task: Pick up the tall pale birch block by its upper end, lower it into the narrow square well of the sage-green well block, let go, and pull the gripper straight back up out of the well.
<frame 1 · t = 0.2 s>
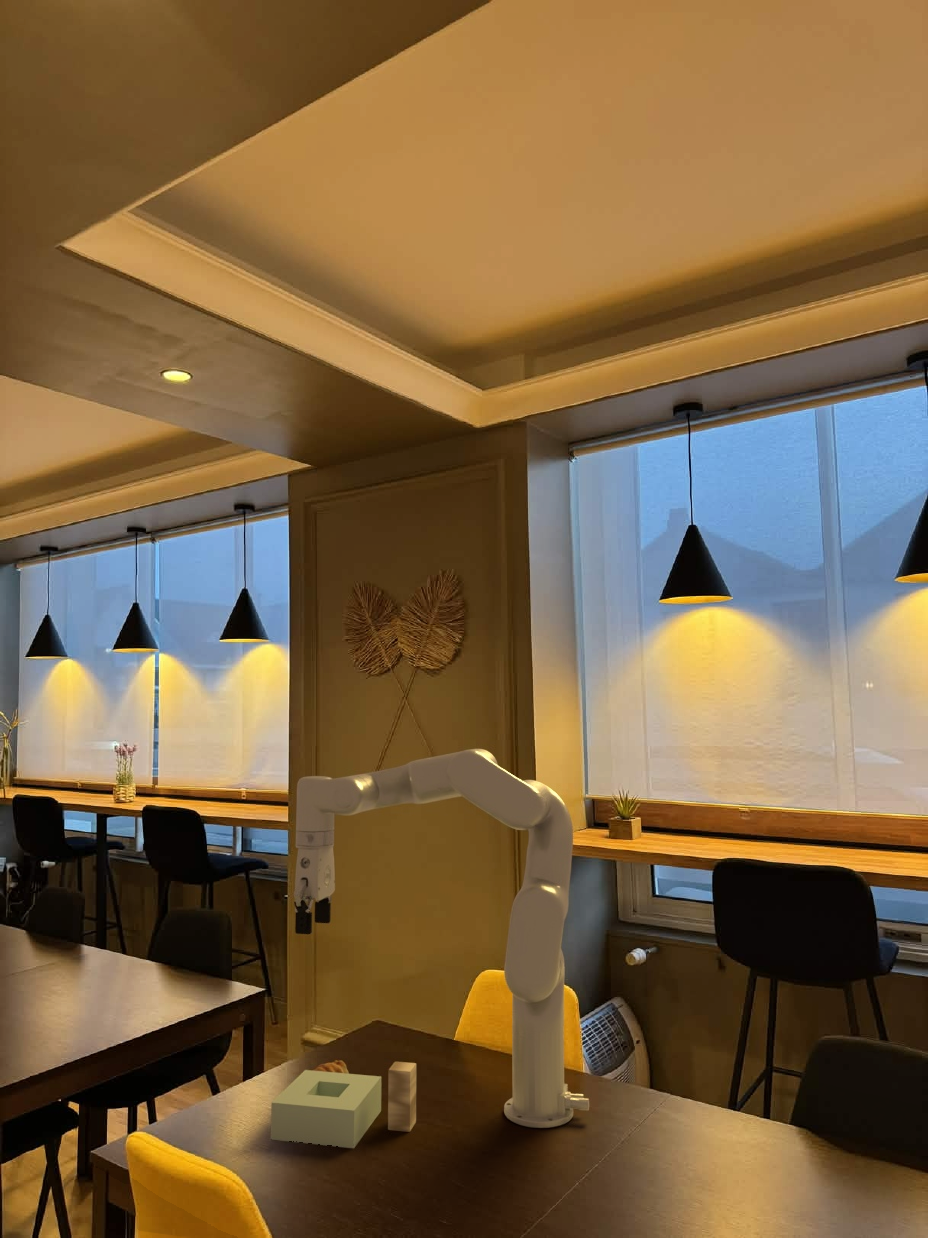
hand: (313, 928, 176), 31 cm above the table, tool pointing down, fingers open, 9 cm apart
well block: (327, 1125, 159), on the table
birch block: (402, 1126, 159), on the table
pastry: (326, 1086, 177), on the table
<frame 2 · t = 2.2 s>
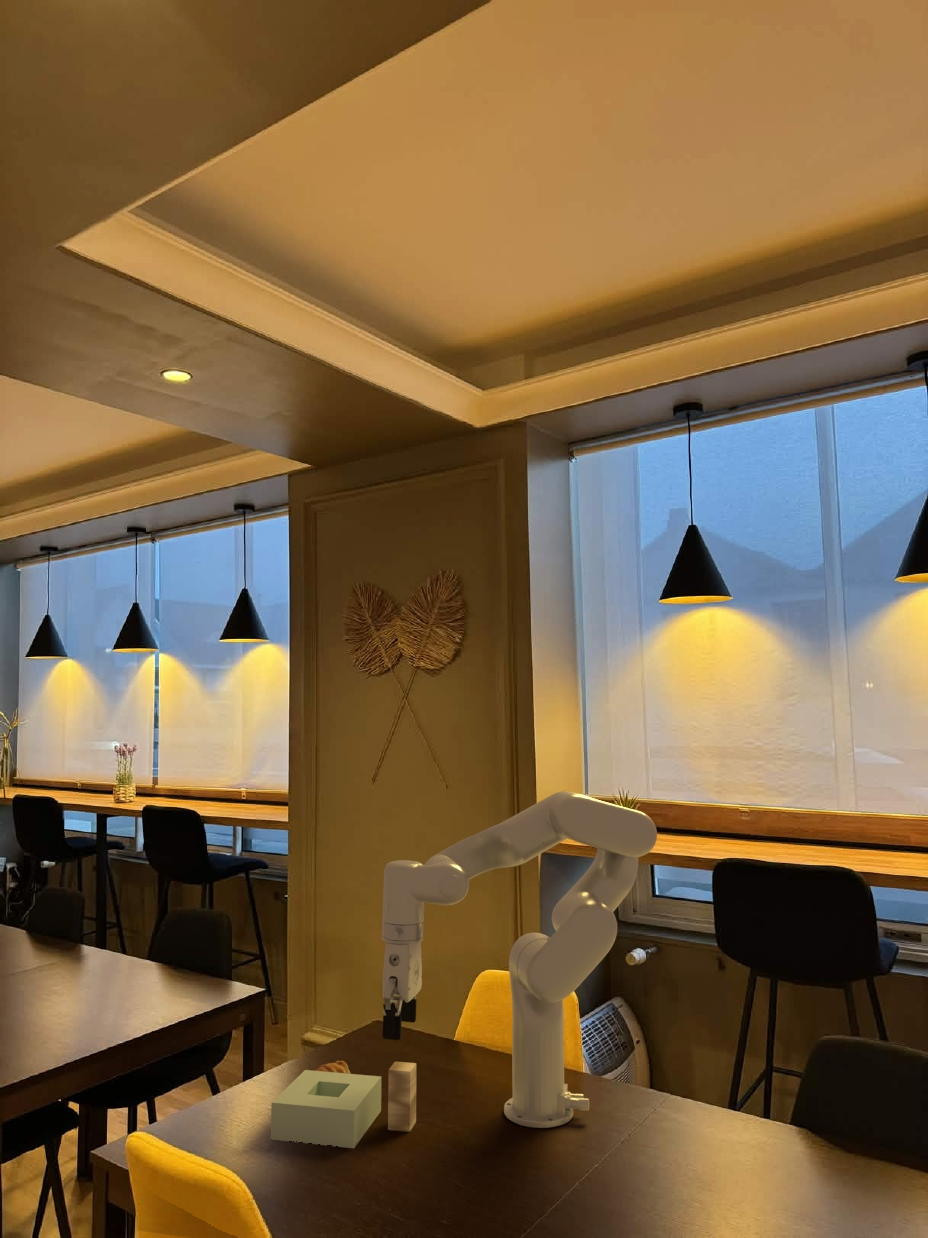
hand: (399, 1030, 160), 16 cm above the table, tool pointing down, fingers open, 9 cm apart
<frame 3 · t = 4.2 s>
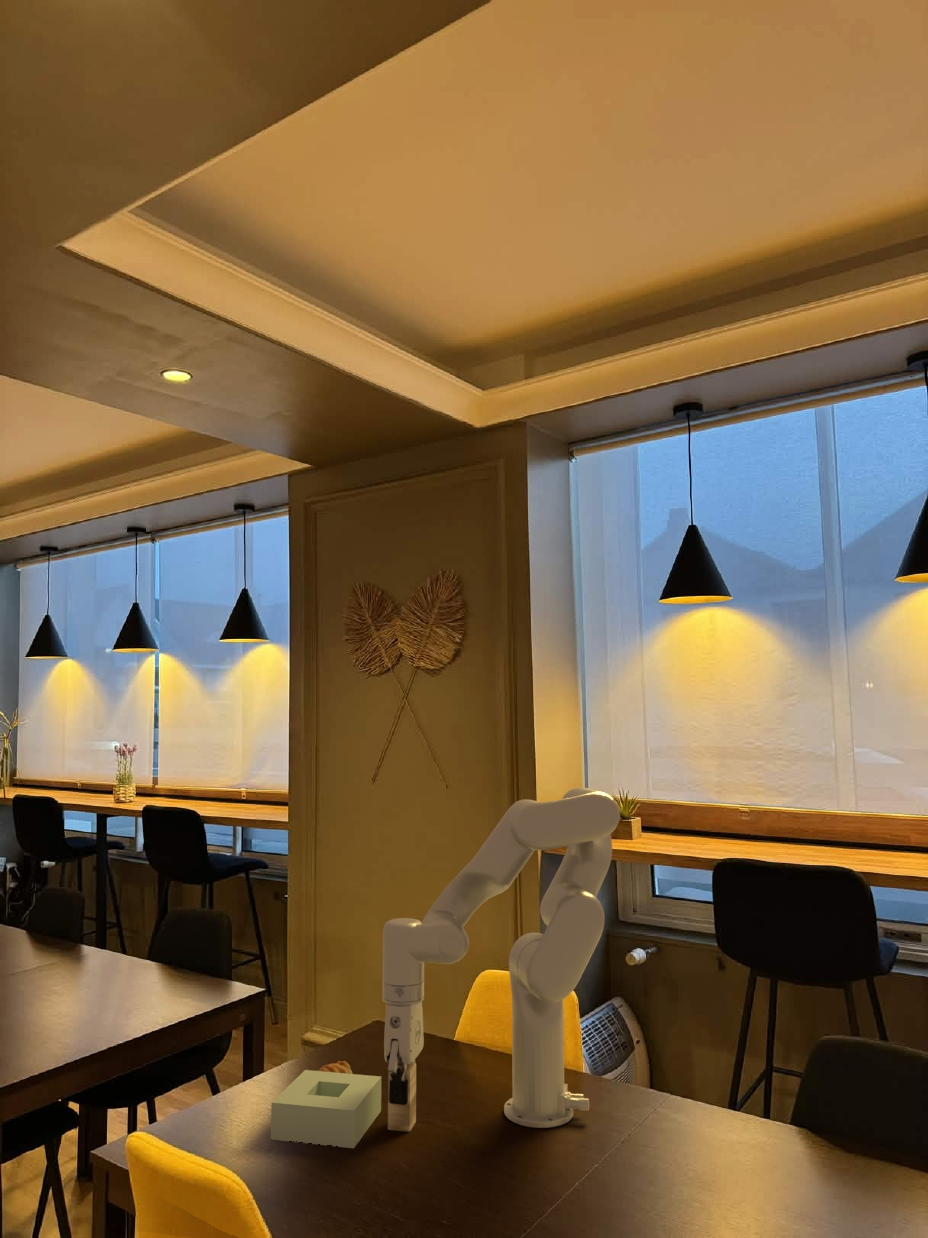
hand: (402, 1097, 159), 5 cm above the table, tool pointing down, fingers closed on birch block, 4 cm apart
birch block: (402, 1126, 159), on the table, touching gripper
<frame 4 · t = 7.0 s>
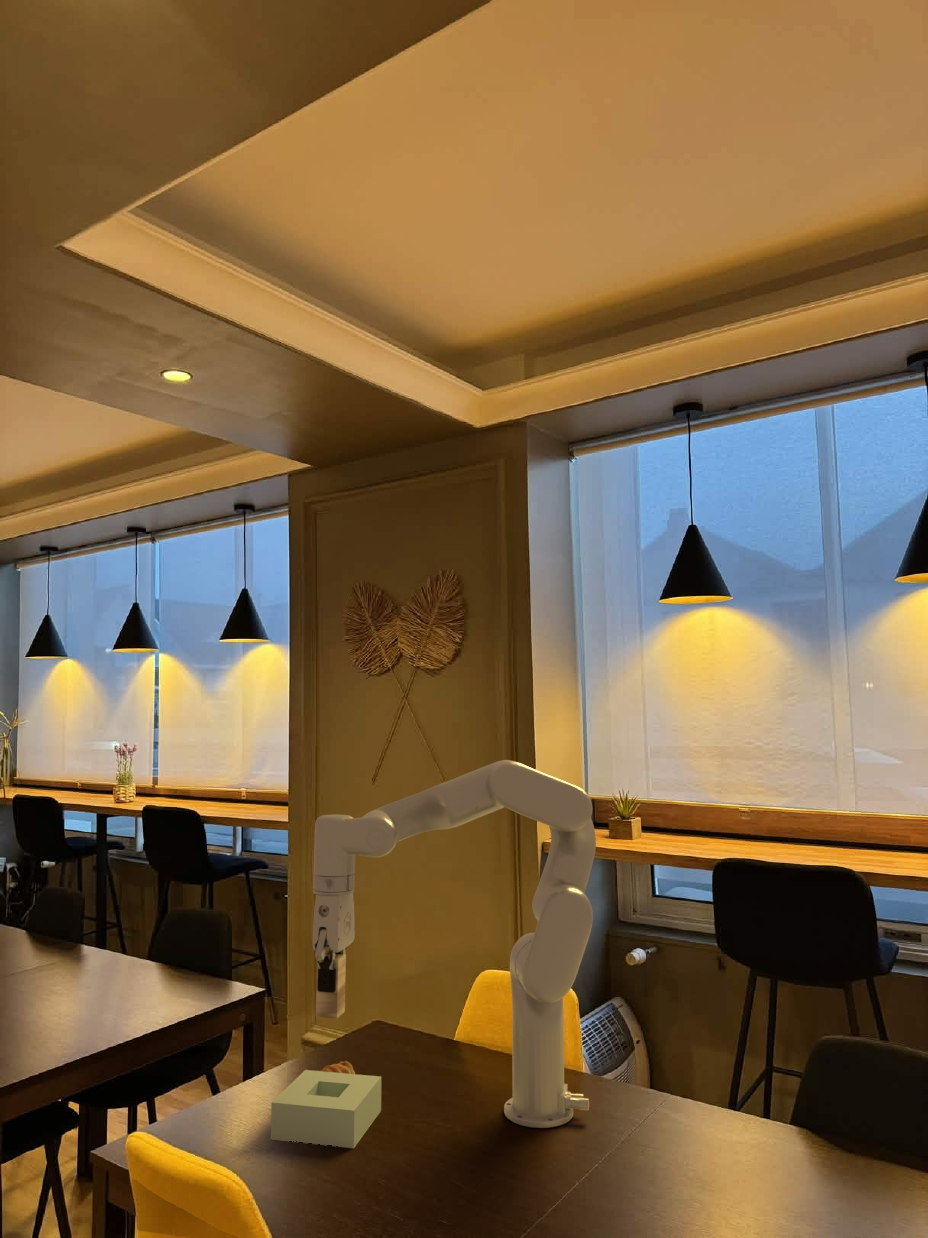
hand: (331, 987, 162), 24 cm above the table, tool pointing down, fingers closed on birch block, 4 cm apart
birch block: (330, 1014, 161), point 19 cm above the table, touching gripper
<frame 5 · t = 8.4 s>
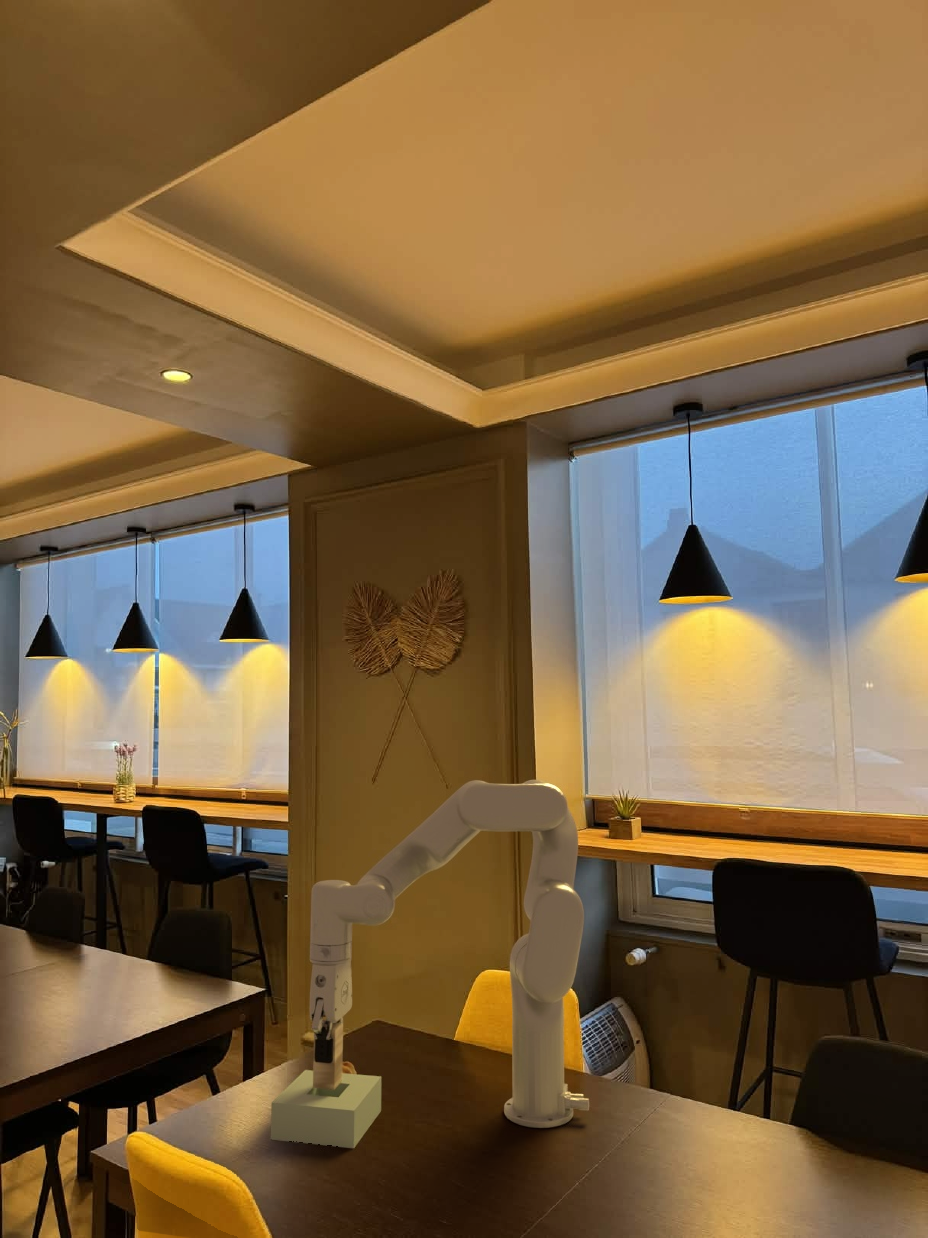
hand: (328, 1056, 160), 12 cm above the table, tool pointing down, fingers closed on birch block, 4 cm apart
birch block: (327, 1084, 160), point 7 cm above the table, touching gripper
when the fingers open (7 cm above the table, at t = 9.7 s): birch block drops 1 cm, resting on well block.
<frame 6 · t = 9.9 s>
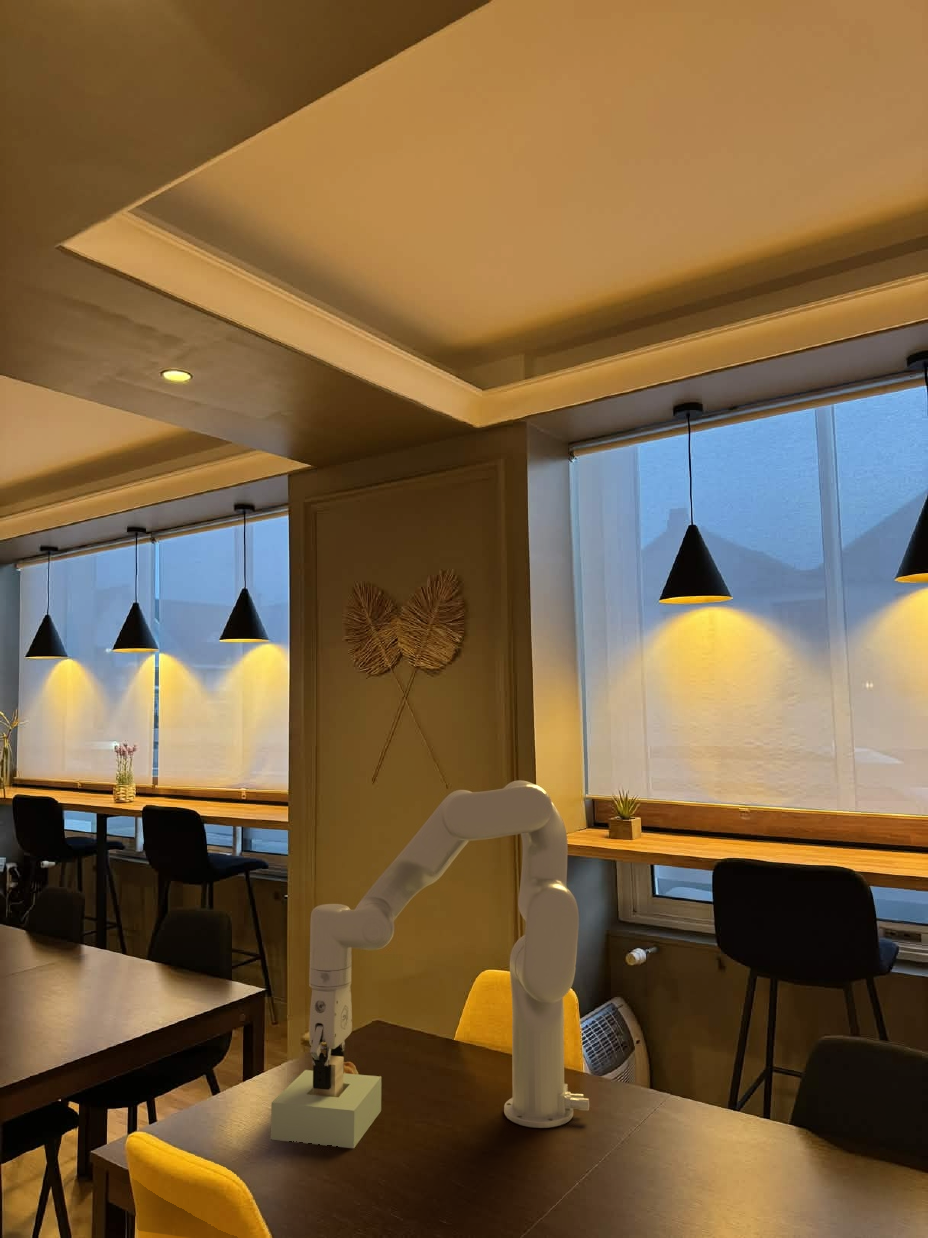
hand: (328, 1080, 160), 8 cm above the table, tool pointing down, fingers open, 5 cm apart
birch block: (328, 1119, 159), point 1 cm above the table, touching well block
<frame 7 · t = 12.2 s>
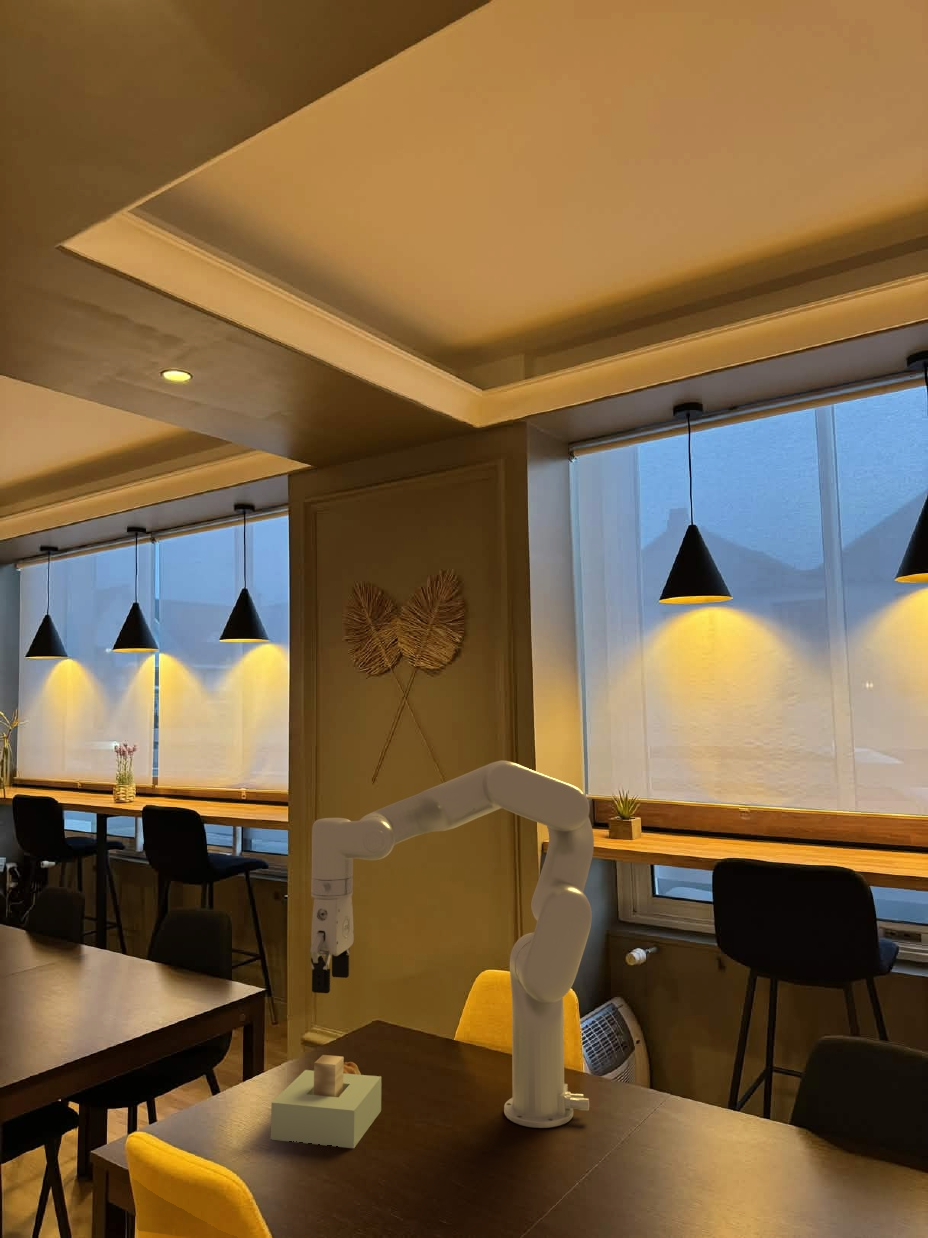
hand: (330, 984, 162), 24 cm above the table, tool pointing down, fingers open, 9 cm apart
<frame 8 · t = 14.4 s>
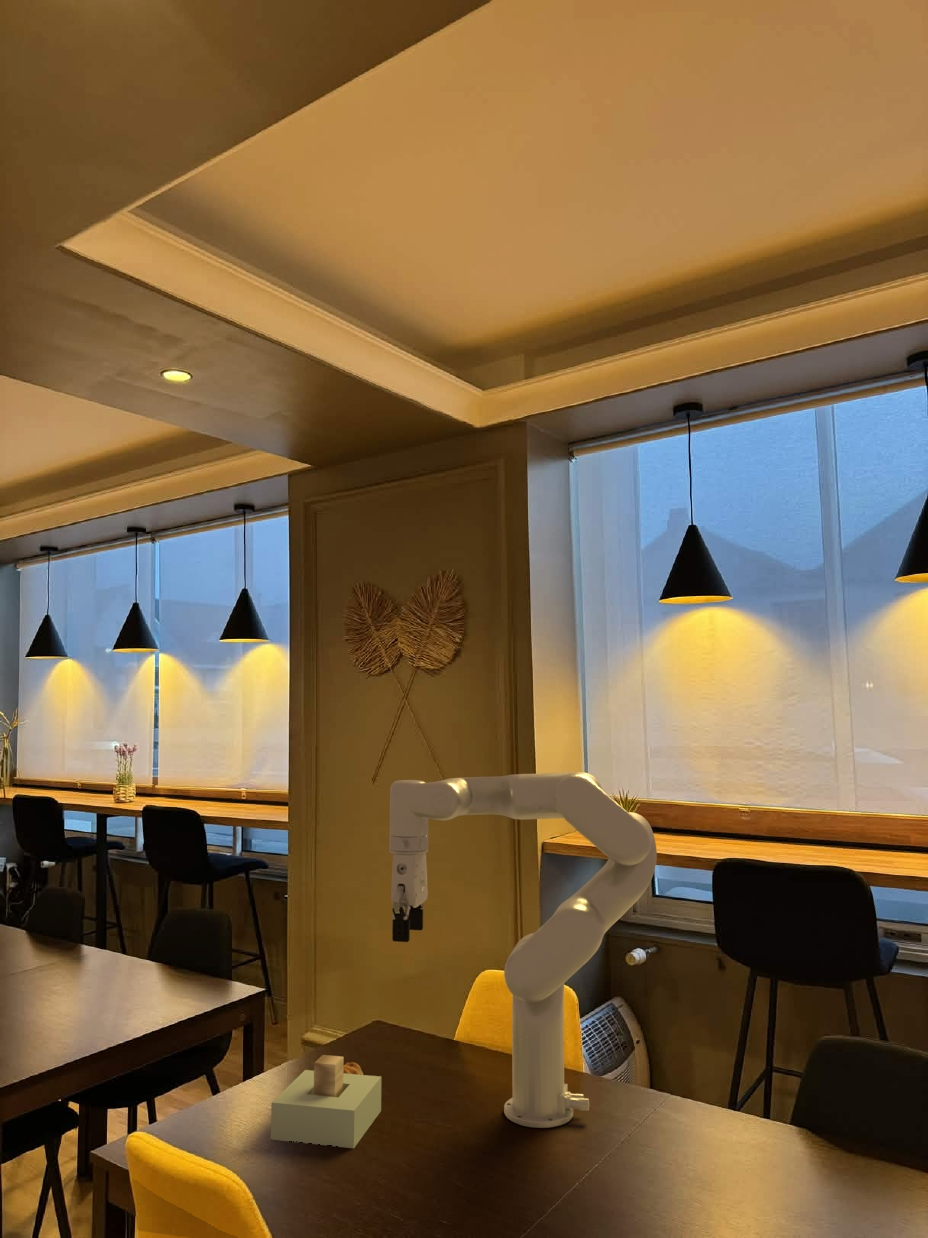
hand: (408, 935, 172), 30 cm above the table, tool pointing down, fingers open, 9 cm apart
at the end: birch block 0.0 cm off-centre on the well block, point 1.0 cm above the well block's base; birch block tilted 0°; the gripper is holding nothing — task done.
